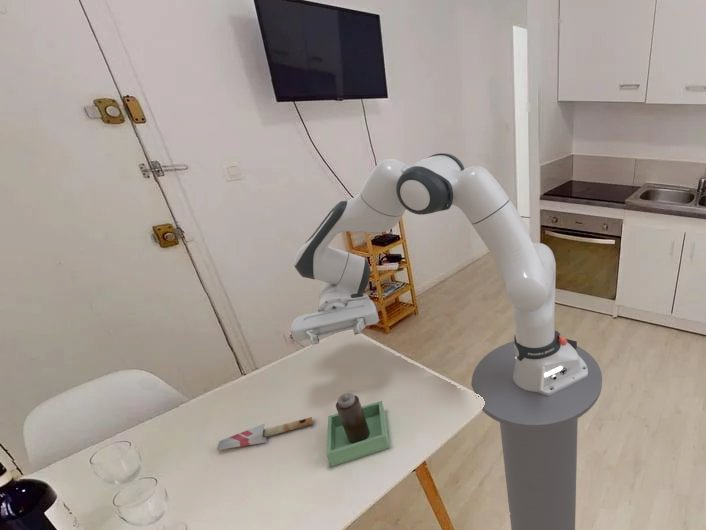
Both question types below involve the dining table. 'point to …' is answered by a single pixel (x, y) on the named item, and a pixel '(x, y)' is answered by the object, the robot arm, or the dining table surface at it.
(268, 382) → the dining table surface
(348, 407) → the pepper mill
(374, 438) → the tray
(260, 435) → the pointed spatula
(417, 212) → the robot arm
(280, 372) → the dining table surface
